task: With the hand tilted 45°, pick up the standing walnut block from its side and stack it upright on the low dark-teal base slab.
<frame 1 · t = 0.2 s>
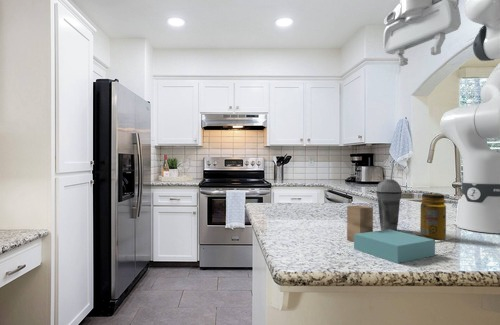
hand: (418, 60, 84), 48 cm above the countertop, tool pointing down, fingers open, 8 cm apart
beverage cup: (388, 230, 96), on the countertop
condiment: (430, 238, 86), on the countertop
base slab: (392, 252, 72), on the countertop
walnut block: (359, 241, 83), on the countertop
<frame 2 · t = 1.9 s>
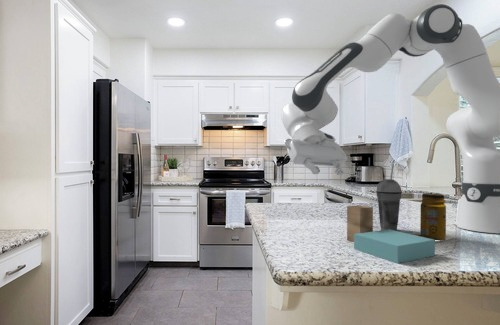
hand: (329, 173, 92), 17 cm above the countertop, tool tilted 45°, fingers open, 8 cm apart
nothing on the countertop moved.
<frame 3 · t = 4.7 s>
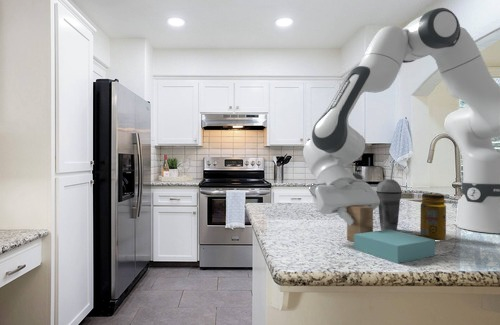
hand: (361, 223, 82), 5 cm above the countertop, tool tilted 45°, fingers closed on walnut block, 4 cm apart
walnut block: (359, 241, 83), on the countertop, touching gripper
everything else where it was.
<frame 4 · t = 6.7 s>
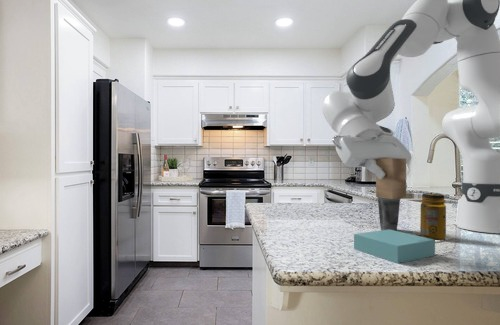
hand: (393, 176, 72), 17 cm above the countertop, tool tilted 45°, fingers closed on walnut block, 4 cm apart
walnut block: (390, 197, 73), point 12 cm above the countertop, touching gripper
everything else where it was.
when the fingers open (9 cm above the countertop, at t = 9.0 s): walnut block drops 1 cm, resting on base slab.
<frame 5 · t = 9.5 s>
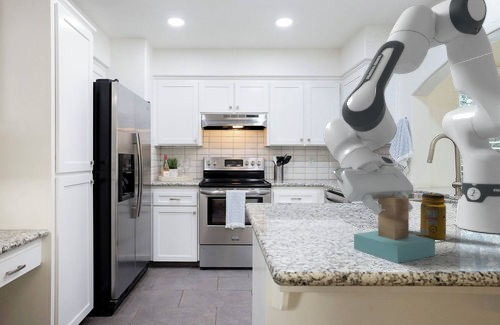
hand: (395, 211, 72), 9 cm above the countertop, tool tilted 45°, fingers open, 8 cm apart
walnut block: (393, 236, 72), point 3 cm above the countertop, touching base slab
everything else where it was.
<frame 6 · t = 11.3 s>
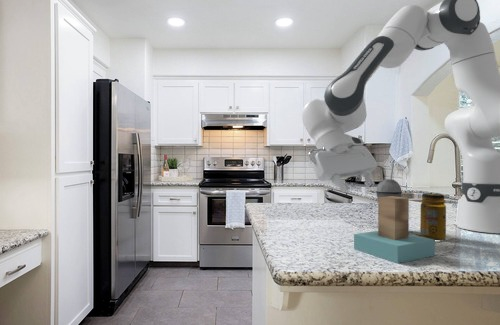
hand: (359, 188, 84), 14 cm above the countertop, tool tilted 35°, fingers open, 8 cm apart
nothing on the countertop moved.
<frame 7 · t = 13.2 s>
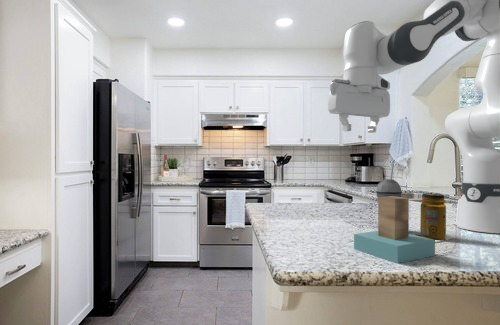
hand: (359, 131, 88), 29 cm above the countertop, tool pointing down, fingers open, 8 cm apart
nothing on the countertop moved.
at the end: walnut block inside the target area on the base slab (0.1 cm from its centre), point 3.5 cm above the base slab's base; walnut block tilted 0°; the gripper is holding nothing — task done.
